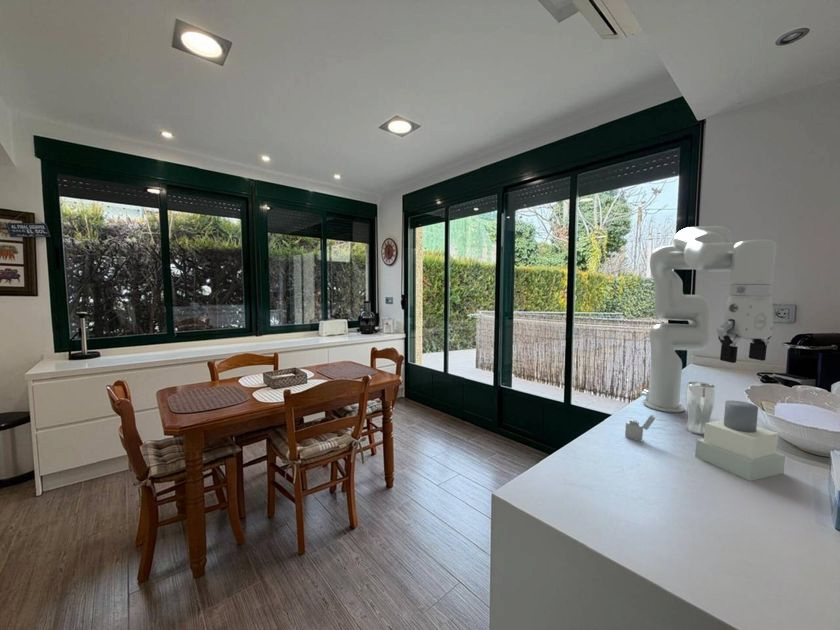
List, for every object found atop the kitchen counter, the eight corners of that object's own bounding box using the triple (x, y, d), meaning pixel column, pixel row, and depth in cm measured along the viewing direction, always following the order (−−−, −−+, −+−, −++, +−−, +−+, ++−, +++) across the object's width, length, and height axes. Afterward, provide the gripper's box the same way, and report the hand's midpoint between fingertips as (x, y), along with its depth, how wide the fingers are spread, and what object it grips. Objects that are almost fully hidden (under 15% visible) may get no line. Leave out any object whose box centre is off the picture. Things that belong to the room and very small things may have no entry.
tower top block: (703, 441, 89) (705, 423, 89) (727, 436, 92) (729, 418, 92) (751, 459, 80) (753, 439, 79) (776, 452, 83) (778, 433, 83)
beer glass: (701, 427, 110) (705, 381, 108) (718, 436, 103) (722, 388, 102) (678, 426, 110) (681, 381, 109) (693, 435, 103) (697, 387, 102)
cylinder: (718, 424, 88) (719, 402, 87) (732, 421, 90) (734, 399, 89) (747, 434, 82) (749, 409, 81) (761, 430, 84) (763, 406, 84)
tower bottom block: (695, 457, 91) (696, 439, 90) (726, 451, 94) (728, 434, 94) (749, 482, 79) (751, 461, 79) (783, 474, 82) (785, 455, 82)
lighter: (624, 436, 102) (626, 410, 101) (626, 435, 103) (628, 409, 103) (653, 444, 97) (654, 417, 96) (654, 442, 98) (656, 416, 98)
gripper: (741, 292, 77) (733, 366, 79) (794, 292, 81) (786, 362, 83) (706, 291, 84) (700, 359, 86) (756, 291, 89) (750, 355, 90)
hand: (742, 360), depth 85 cm, fingers open, 9 cm apart
